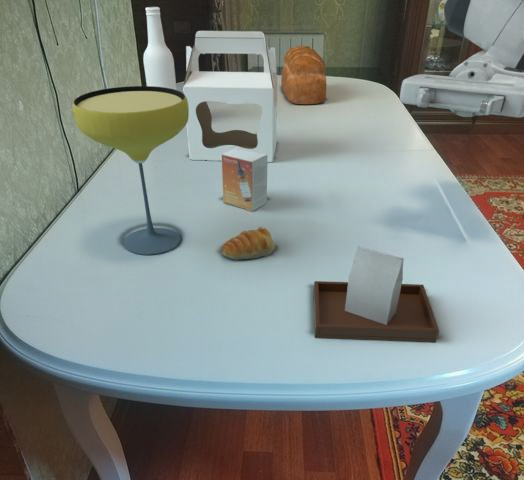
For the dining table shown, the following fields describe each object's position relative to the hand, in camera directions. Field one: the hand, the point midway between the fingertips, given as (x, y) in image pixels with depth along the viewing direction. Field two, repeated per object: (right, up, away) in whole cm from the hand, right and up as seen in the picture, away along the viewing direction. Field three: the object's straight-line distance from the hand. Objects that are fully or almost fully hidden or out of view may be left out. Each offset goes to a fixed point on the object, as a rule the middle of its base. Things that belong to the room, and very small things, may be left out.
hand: (452, 105), depth 78 cm
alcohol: (-60, +34, +82) cm, 107 cm away
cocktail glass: (-50, -17, +18) cm, 56 cm away
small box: (-33, -6, +32) cm, 47 cm away
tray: (-13, -33, -1) cm, 35 cm away
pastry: (-32, -20, +15) cm, 40 cm away
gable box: (-37, +15, +58) cm, 70 cm away
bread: (-15, +55, +108) cm, 122 cm away
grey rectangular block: (-13, -32, -1) cm, 35 cm away
